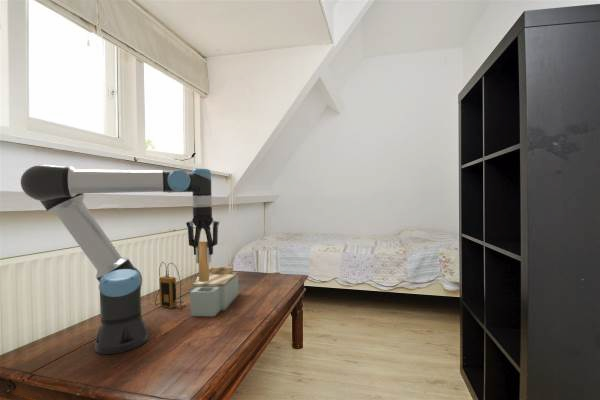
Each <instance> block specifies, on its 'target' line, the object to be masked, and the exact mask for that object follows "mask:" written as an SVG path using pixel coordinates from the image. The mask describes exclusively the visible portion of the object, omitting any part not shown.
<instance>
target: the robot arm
mask: <svg viewBox="0 0 600 400" xmlns="http://www.w3.org/2000/svg"><path fill="white" fill-rule="evenodd" d="M212 181H213V180H212V173H211V170H210V169H209V168H194V169H192V170H191V173H188V172H187V171H185V170H183V169H174V170H163V169H162V170H157V169H156V170H154V169H151V170H150V169H148V170H145V169H144V170H142V169H141V170H140V169H139V170H138V169H137V170H135V169H134V170H133V169H132V170H131V169H128V170H127V169H126V170H124V169H121V170H120V169H76V168H74V166H64V165H63V166H61V165H60V166H59V165H53V164H52V165H50V164H37V165H34V166H31V167H29V168H27V169H26V170H25V171H24V172H23V174H22V175H21V178H20V186H21V189H22V191H23V192H24V193H25V195H26V196H28V197H30V198H31V199H33V200H35V201H39V202H40V203H41V205H42V206H43V207H44V209H45V210H46V211H47V213H50V214H55V215H56V216H57V217H58V219H59V220H60V221H61V222H62V224H63V226H64V227H65V229H66V230H67V231H68V233H69V234H70V235H71V236H72V238H73V240H74V241H75V243H77V245H78V246H79V247H80V249H81V250H82V252H83V254H85V256H86V257H87V258H88V260H89V261H90V263H91V264H92V265H93V267H94V268H95V269H96V275H95V278H96V280H97V281H98V282H99V284H98V290H99V304H100V305H99V306H100V308H99V309H100V327H99V329H98V332H97V334H96V339H95V340H94V341H95V343H94V346H95V347H94V350H95V352H96V353H98V354H100V355H101V354H102V355H113V354H121V353H124V352H128V351H132V350H133V349H136V348H138V347H139V346H142V345H144V343H146V341H147V340H148V338H149V337H148V334H149V333H148V329H147V327H146V324H145V321H144V319H143V317H142V301H141V298H142V297H141V296H142V295H141V292H142V291H141V290H142V285H143V276H142V273H141V272H140V270H139V269H137V267H135V266H134V265H133V263H132V262H131V261H130V259H129V258H128V257H124V256H121V254H120V253H119V252H118V249H116V247H115V246H114V245H113V243H112V242H111V240H110V238H109V237H108V236H107V234H106V233H105V231H104V230H103V228H102V227H101V225H100V224H99V223H98V222H97V220H96V218H95V217H94V216H93V214H92V213H91V212H90V210H89V208H88V207H87V205H86V204H85V203H84V197H85V194H116V193H117V194H118V193H119V194H120V193H154V192H155V193H157V192H158V193H160V192H162V193H167V194H168V193H192V206H193V207H192V216H193V217H192V219H191V221H186V223H185V225H186V227H187V233H188V235H187V236H188V237H187V238H188V246H189V247H192V248H193V255H194V256H195V264H199V255H198V242H200V238H201V231H202V229H203V230H204V232H205V233H204V234H205V236H206V241H207V242H208V247H207V263H209V264H210V263H212V255H213V254H214V246H217V245H218V239H219V237H218V234H219V225H220V221H217V220H214V218H213V207H212V204H213V203H212V202H213V201H212V200H213V199H212ZM211 225H212V232H211ZM194 226H195V228H194ZM194 229H195V230H194ZM194 231H195V233H194Z"/></svg>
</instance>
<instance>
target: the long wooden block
mask: <svg viewBox="0 0 600 400" xmlns="http://www.w3.org/2000/svg"><path fill="white" fill-rule="evenodd" d="M207 247H208V242H207V240H205V241H201V240H200V241H199V242H198V255H199V263H198V280H199V281H200V282H205V281H209V273H210V263H207Z"/></svg>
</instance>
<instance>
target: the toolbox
mask: <svg viewBox="0 0 600 400" xmlns="http://www.w3.org/2000/svg"><path fill="white" fill-rule="evenodd" d="M238 296H239V274H238V275H236V276H235V277H234V278H233V279H232V280H231V281H230V282H228V283H227V284H226V285H225V286H193V285H192V289H191V291H190V292H189V306H190V310H189V311H190V317H216V315H218V313H219V312H220V311H224V310H227V309H228V307H229V306H231V304H232V303H233V301H235V299H236V298H237V297H238Z"/></svg>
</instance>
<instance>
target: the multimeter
mask: <svg viewBox="0 0 600 400" xmlns="http://www.w3.org/2000/svg"><path fill="white" fill-rule="evenodd" d="M162 264H164V265H165V276H164V275H163V276H161V274H160V269H161V267H162ZM171 264H172V265H173V266H174V267H175V269H176V271H177V273H178V278H179V285H180V287H179V288H180V290H179V291H180V293H179V301H178V300H177V283H176V282H177V281H176V280H177V278H176V277H175V276H169V275H170V274H169V272H170V271H169V270H168V266H169V265H171ZM158 276H159V279H158V280H159V289H158V292H157V295H156V297H155V300H154V305H155V306H156V305H160V307H162V308H169V309H173V308H175V307H177V303H180V304H179V305H180V307H181V308H184V307H186V306H187V304H186V301H188V300H187V299H186V300H182V299H181V298H182V297H181V296H182V295H181V294H182V283H181V276H180V272H179V270H178V268H177V266H176V265H175V264H174V263H173V262H169V263H168V264H166V263H165V262H164V261H162V262H161V263H160V265H159V269H158ZM158 295H159V303H156V302H157V298H158ZM182 302H183V304H184V306H183V305H182V304H181V303H182Z"/></svg>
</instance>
